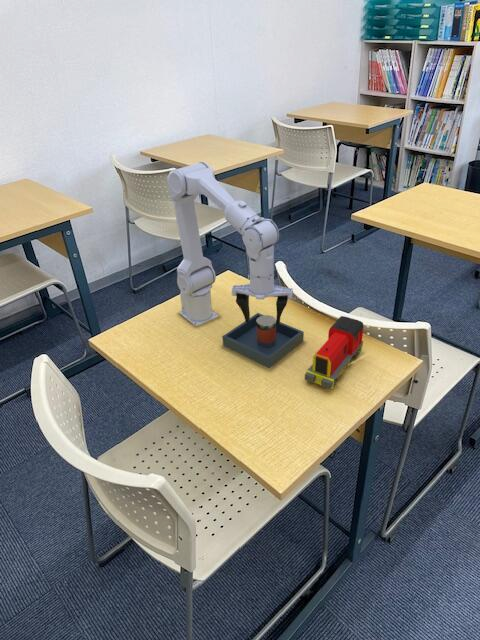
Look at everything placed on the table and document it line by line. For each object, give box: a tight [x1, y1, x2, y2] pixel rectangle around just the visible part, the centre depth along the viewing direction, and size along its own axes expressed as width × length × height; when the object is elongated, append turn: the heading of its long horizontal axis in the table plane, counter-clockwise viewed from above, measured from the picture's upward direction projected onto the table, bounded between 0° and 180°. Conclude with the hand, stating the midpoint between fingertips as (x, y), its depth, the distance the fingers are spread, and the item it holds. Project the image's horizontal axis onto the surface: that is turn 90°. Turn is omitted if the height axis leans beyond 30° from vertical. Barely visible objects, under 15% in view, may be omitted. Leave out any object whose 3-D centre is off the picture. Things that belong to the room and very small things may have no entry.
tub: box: [222, 312, 305, 369], centre depth 127 cm, size 16×15×4 cm
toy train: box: [304, 315, 364, 390], centre depth 116 cm, size 7×19×10 cm, turn 146°
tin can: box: [257, 314, 276, 348], centre depth 126 cm, size 5×5×7 cm
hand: (262, 321), depth 120 cm, fingers open, 7 cm apart
